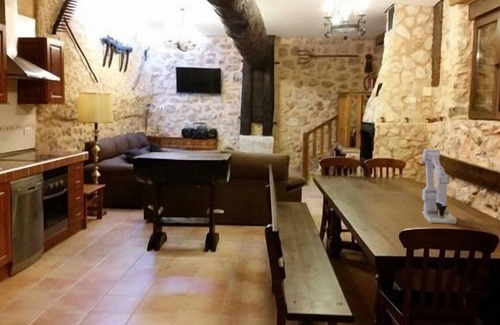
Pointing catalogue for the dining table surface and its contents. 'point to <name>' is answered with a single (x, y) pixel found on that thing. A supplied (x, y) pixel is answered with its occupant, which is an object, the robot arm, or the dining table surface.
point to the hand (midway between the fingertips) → (440, 214)
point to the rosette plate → (433, 217)
